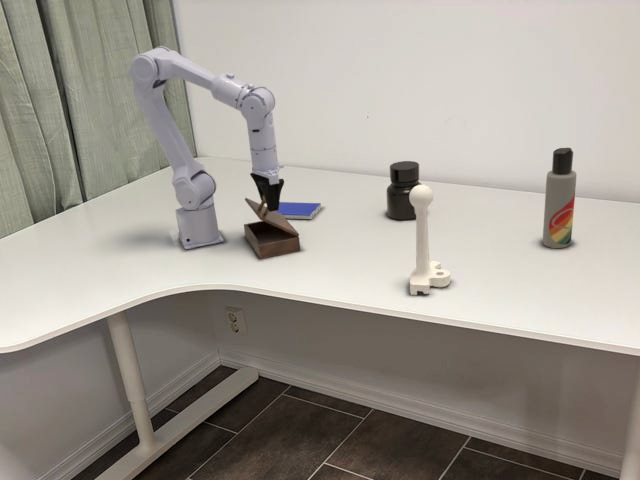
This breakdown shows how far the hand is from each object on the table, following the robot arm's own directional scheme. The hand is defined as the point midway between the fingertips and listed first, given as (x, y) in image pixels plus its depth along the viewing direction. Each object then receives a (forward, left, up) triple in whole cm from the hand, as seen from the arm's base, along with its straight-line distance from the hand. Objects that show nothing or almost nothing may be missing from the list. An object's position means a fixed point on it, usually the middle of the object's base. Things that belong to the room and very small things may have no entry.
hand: (270, 206), depth 176 cm
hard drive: (+9, +17, -9) cm, 21 cm away
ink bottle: (+33, +1, -9) cm, 35 cm away
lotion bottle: (+53, -32, -9) cm, 63 cm away
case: (-1, 0, -9) cm, 9 cm away
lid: (0, 0, -3) cm, 3 cm away
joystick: (+22, -37, -9) cm, 44 cm away
